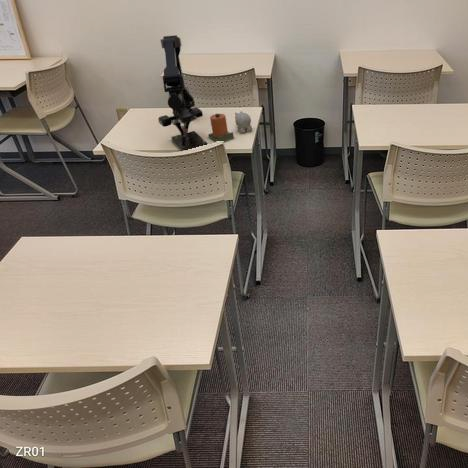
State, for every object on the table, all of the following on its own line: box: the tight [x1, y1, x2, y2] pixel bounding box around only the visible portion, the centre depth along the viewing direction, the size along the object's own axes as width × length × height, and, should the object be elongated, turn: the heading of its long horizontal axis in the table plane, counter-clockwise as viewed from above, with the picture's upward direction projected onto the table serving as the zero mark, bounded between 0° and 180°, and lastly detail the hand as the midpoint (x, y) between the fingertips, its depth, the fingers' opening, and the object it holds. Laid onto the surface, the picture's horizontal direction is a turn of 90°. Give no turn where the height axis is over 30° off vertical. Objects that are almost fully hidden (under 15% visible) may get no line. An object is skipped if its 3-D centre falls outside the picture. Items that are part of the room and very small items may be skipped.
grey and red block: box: [181, 125, 189, 138], centre depth 218 cm, size 5×2×4 cm, turn 34°
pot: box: [209, 113, 229, 137], centre depth 216 cm, size 7×7×9 cm
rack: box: [207, 131, 235, 143], centre depth 219 cm, size 9×8×3 cm
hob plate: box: [180, 137, 206, 149], centre depth 212 cm, size 11×11×1 cm
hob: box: [171, 130, 209, 152], centre depth 215 cm, size 20×11×2 cm, turn 32°
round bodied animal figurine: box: [234, 111, 253, 134], centre depth 225 cm, size 7×12×8 cm, turn 25°
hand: (184, 134), depth 218 cm, fingers closed on grey and red block, 2 cm apart
